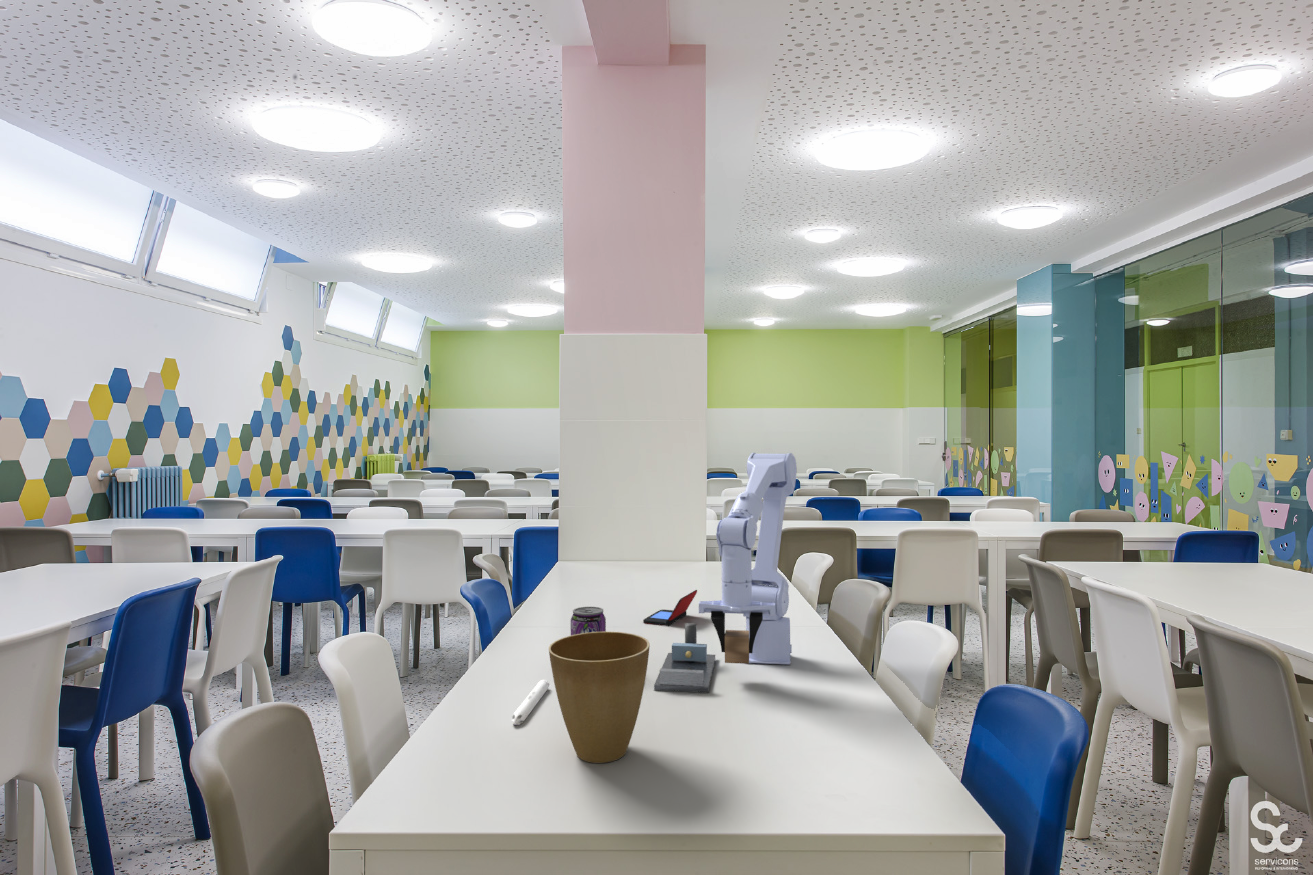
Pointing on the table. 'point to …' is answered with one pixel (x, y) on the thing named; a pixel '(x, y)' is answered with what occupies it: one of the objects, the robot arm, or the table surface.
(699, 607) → the robot arm
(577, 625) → the beverage can
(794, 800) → the table surface
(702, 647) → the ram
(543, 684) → the marker
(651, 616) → the handheld game console
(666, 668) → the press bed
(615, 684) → the plant pot
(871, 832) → the table surface
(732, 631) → the brown block
